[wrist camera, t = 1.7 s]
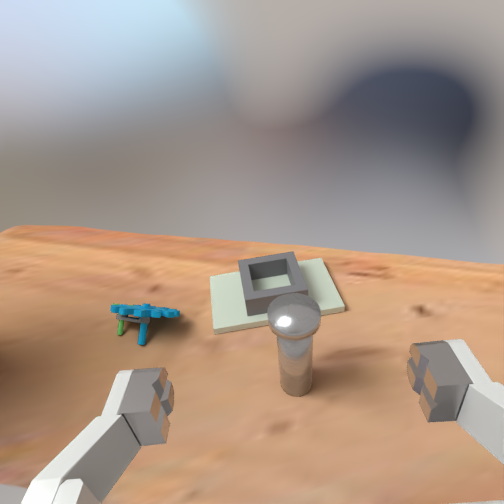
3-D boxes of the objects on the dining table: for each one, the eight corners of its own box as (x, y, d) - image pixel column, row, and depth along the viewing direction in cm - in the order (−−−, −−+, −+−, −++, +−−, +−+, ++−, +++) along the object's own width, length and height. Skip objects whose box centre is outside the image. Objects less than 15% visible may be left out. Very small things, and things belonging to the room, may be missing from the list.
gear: (193, 307, 55) (149, 307, 46) (188, 346, 54) (143, 353, 45) (139, 300, 59) (90, 299, 50) (134, 335, 59) (84, 340, 50)
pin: (279, 406, 42) (272, 337, 34) (270, 367, 47) (263, 297, 39) (324, 398, 42) (328, 327, 34) (311, 359, 47) (312, 289, 39)
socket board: (214, 334, 52) (209, 313, 49) (210, 281, 61) (206, 260, 59) (344, 311, 53) (346, 289, 50) (320, 262, 62) (321, 241, 60)
